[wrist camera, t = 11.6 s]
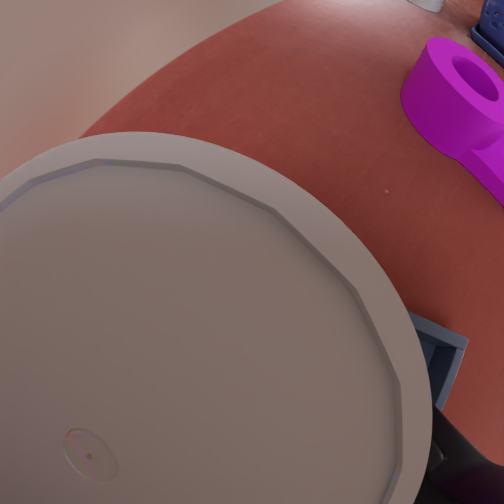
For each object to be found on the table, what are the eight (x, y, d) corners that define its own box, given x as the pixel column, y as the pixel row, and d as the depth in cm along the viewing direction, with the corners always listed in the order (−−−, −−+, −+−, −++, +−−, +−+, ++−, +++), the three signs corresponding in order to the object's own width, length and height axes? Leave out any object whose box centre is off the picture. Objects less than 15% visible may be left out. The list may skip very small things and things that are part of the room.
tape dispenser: (386, 110, 21) (414, 61, 15) (415, 66, 23) (437, 26, 17) (512, 225, 19) (557, 202, 13) (521, 161, 21) (554, 135, 15)
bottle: (167, 281, 17) (-52, 151, 2) (286, 283, 17) (438, 113, 3) (165, 396, 16) (-23, 536, 1) (285, 401, 16) (388, 613, 1)
